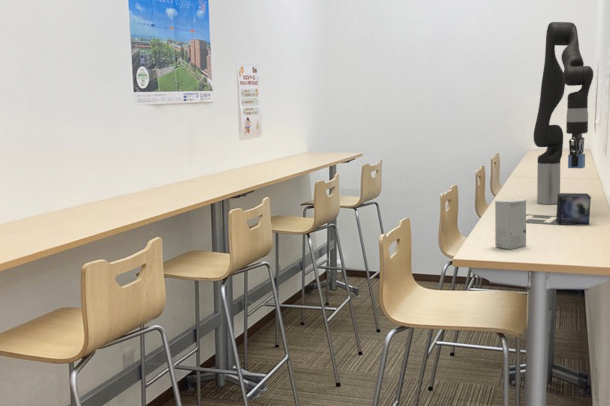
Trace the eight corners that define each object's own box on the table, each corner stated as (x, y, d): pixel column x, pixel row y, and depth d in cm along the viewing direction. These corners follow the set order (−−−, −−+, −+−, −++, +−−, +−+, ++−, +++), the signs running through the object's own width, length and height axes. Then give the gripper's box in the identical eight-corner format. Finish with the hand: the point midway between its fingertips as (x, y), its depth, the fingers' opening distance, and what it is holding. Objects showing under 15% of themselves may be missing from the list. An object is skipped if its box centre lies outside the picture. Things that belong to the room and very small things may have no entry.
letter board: (518, 214, 276) (518, 213, 276) (571, 217, 264) (571, 216, 264) (505, 221, 262) (505, 220, 262) (560, 225, 251) (560, 224, 251)
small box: (558, 224, 251) (559, 195, 249) (555, 221, 257) (556, 192, 255) (590, 224, 249) (591, 195, 247) (586, 221, 255) (587, 193, 253)
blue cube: (571, 166, 267) (571, 153, 266) (584, 167, 265) (585, 153, 264) (568, 168, 263) (568, 154, 262) (582, 168, 260) (582, 155, 260)
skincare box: (509, 250, 215) (509, 202, 213) (494, 247, 220) (494, 200, 218) (527, 245, 220) (527, 199, 218) (511, 243, 225) (511, 197, 223)
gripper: (583, 121, 253) (582, 168, 256) (591, 119, 265) (591, 164, 268) (561, 121, 257) (561, 167, 260) (571, 119, 269) (570, 163, 272)
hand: (576, 165), depth 264 cm, fingers closed on blue cube, 5 cm apart
